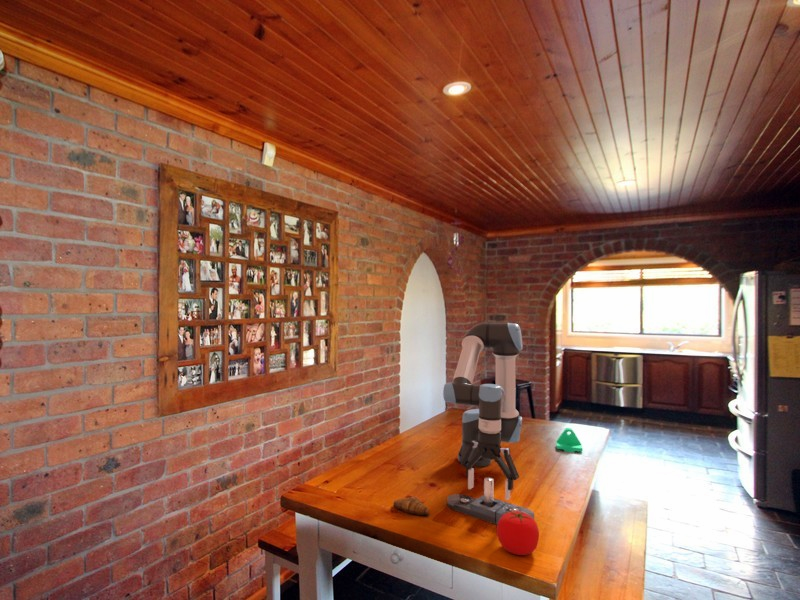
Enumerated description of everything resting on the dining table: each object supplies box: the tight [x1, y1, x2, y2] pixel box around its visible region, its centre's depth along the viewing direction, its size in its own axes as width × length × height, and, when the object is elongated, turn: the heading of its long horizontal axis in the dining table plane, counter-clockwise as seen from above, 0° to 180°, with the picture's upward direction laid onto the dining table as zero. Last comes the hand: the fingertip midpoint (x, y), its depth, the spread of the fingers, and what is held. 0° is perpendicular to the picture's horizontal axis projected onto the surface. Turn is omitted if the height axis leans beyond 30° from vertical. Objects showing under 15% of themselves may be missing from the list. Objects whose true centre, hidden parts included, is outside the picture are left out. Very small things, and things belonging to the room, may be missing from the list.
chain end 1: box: [446, 493, 496, 525], centre depth 149 cm, size 20×9×3 cm, turn 53°
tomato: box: [496, 511, 540, 556], centre depth 124 cm, size 12×12×10 cm
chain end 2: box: [470, 494, 535, 526], centre depth 142 cm, size 20×9×5 cm, turn 53°
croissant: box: [392, 496, 430, 517], centre depth 147 cm, size 14×7×5 cm, turn 60°
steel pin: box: [483, 477, 495, 507], centre depth 145 cm, size 3×3×12 cm
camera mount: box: [555, 427, 583, 454], centre depth 216 cm, size 12×8×10 cm, turn 72°
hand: (488, 493), depth 145 cm, fingers open, 13 cm apart
